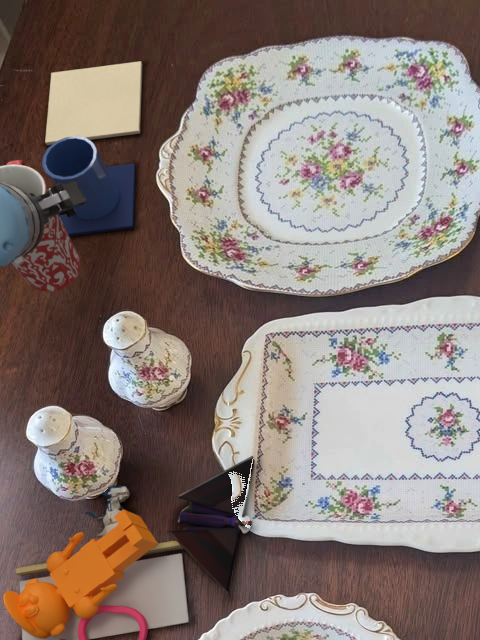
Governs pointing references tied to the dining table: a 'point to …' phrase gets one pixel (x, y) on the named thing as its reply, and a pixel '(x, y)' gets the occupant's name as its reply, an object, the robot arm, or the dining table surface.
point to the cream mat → (95, 102)
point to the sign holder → (131, 597)
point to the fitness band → (116, 609)
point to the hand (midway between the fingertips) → (28, 218)
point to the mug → (44, 238)
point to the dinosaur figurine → (111, 507)
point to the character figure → (213, 523)
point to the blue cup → (82, 175)
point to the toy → (79, 577)
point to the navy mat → (118, 216)
